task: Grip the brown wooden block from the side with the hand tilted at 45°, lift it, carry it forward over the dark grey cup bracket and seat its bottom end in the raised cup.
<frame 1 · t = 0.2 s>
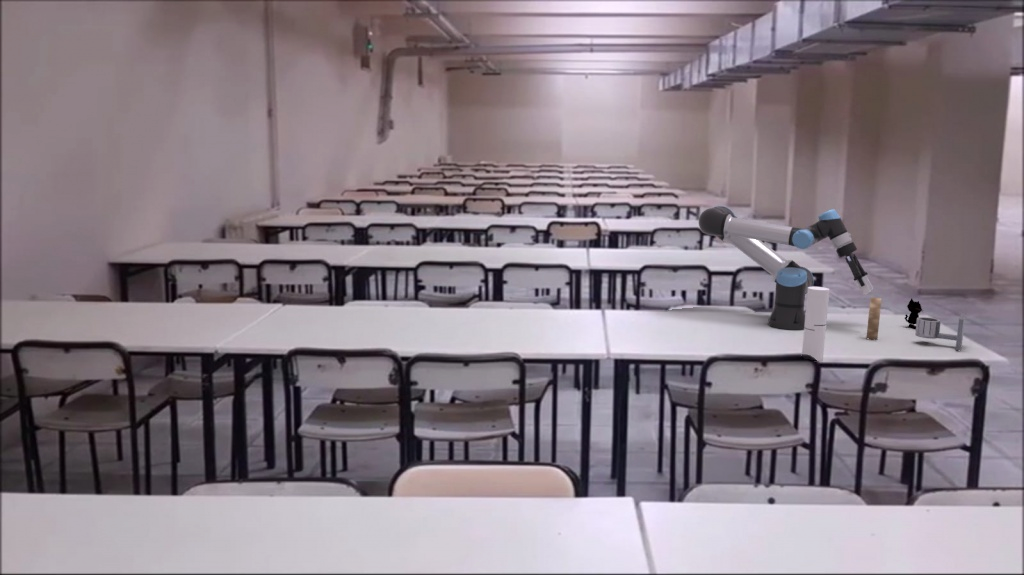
hand: (869, 292, 365), 16 cm above the table, tool tilted 35°, fingers open, 13 cm apart
cat figurine: (912, 328, 375), on the table
brown wooden block: (871, 338, 352), on the table
cup bracket: (926, 343, 346), on the table
cylindrical container: (812, 359, 318), on the table
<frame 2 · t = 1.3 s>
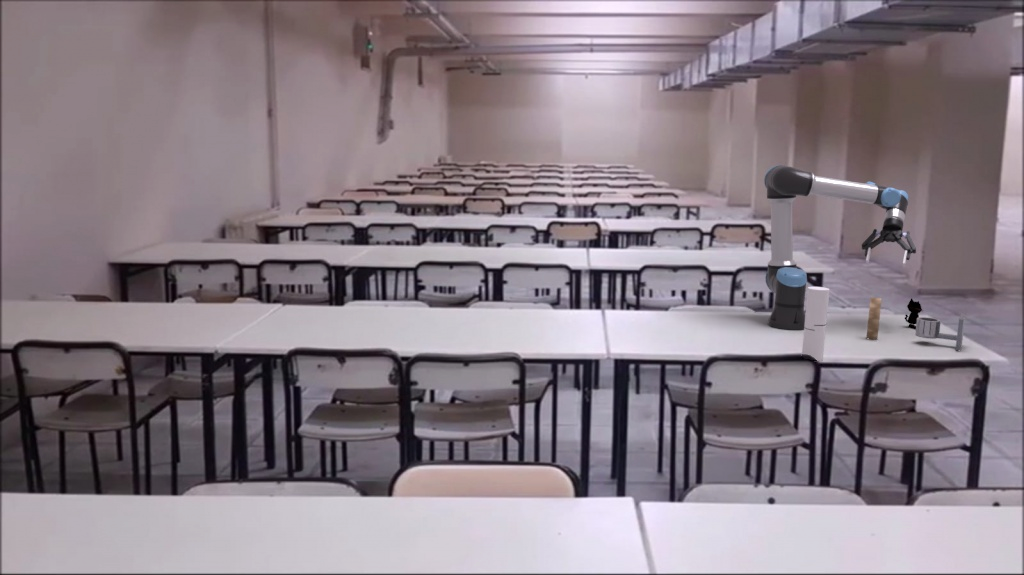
hand: (885, 263, 358), 28 cm above the table, tool tilted 45°, fingers open, 13 cm apart
nothing on the table moved.
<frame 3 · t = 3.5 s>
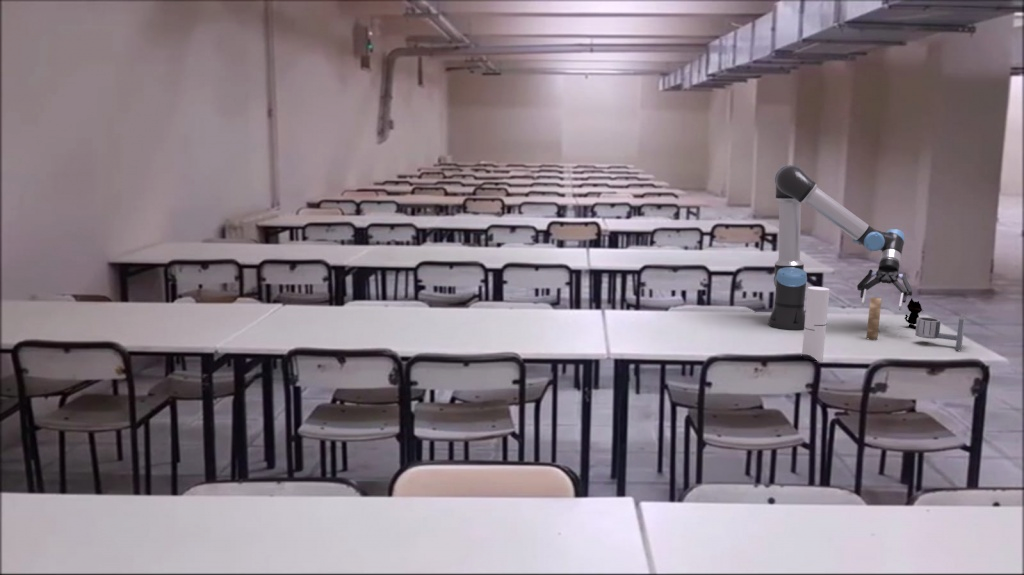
hand: (881, 306, 353), 12 cm above the table, tool tilted 45°, fingers open, 13 cm apart
nothing on the table moved.
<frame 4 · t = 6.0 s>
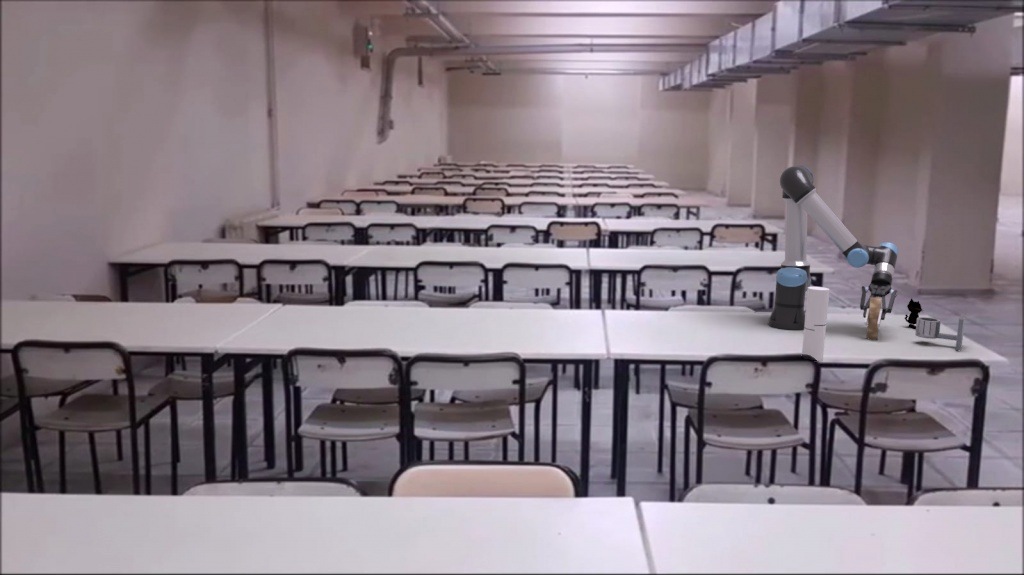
hand: (871, 324, 347), 6 cm above the table, tool tilted 45°, fingers closed on brown wooden block, 4 cm apart
brown wooden block: (871, 338, 352), on the table, touching gripper
everything else where it was.
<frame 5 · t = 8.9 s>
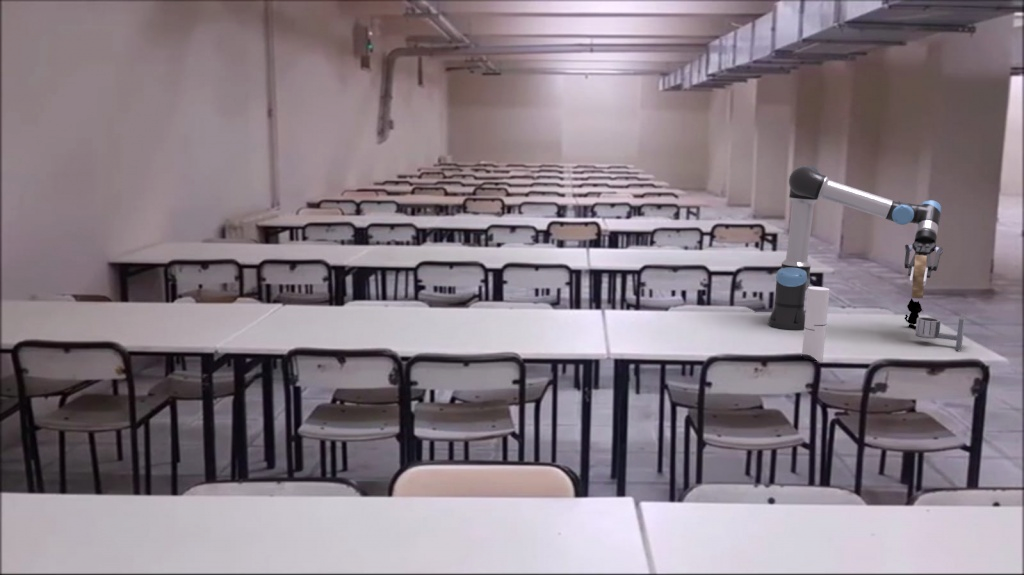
hand: (917, 282, 340), 24 cm above the table, tool tilted 45°, fingers closed on brown wooden block, 4 cm apart
brown wooden block: (917, 297, 344), point 18 cm above the table, touching gripper
everything else where it was.
when the fingers open (12 cm above the table, at t = 12.0 s): brown wooden block drops 1 cm, resting on cup bracket.
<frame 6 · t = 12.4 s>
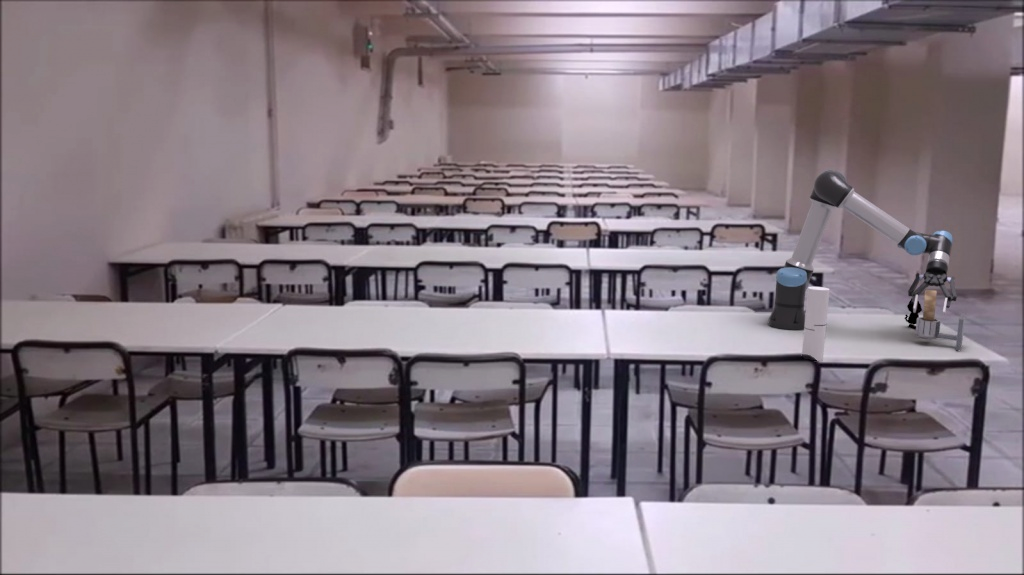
hand: (929, 312, 341), 13 cm above the table, tool tilted 45°, fingers open, 9 cm apart
brown wooden block: (927, 332, 345), point 5 cm above the table, touching cup bracket
everything else where it was.
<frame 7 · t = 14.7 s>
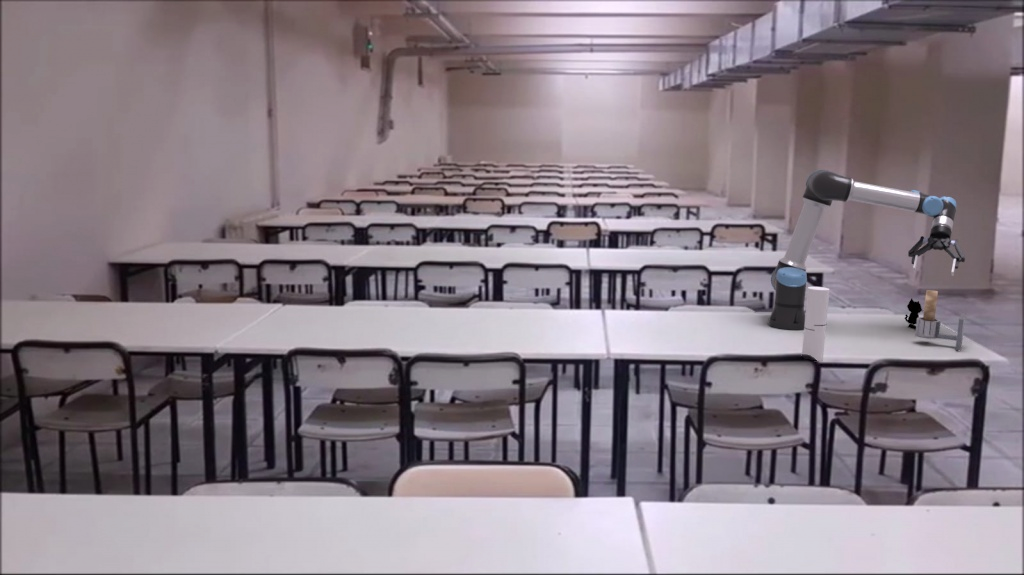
hand: (933, 272, 350), 26 cm above the table, tool tilted 45°, fingers open, 13 cm apart
nothing on the table moved.
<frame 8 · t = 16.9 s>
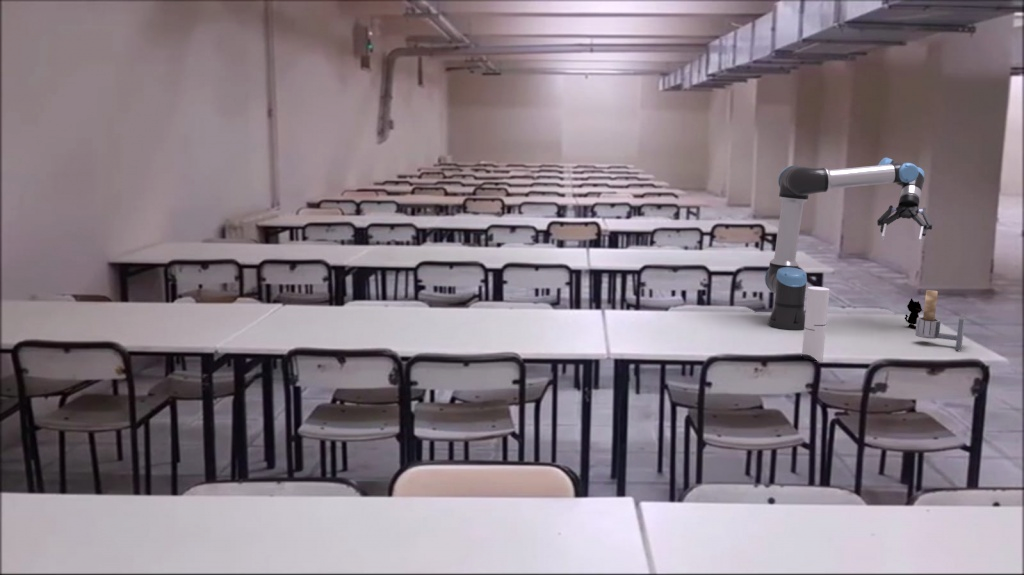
hand: (901, 239, 357), 38 cm above the table, tool tilted 45°, fingers open, 13 cm apart
nothing on the table moved.
at the end: brown wooden block 0.0 cm off-centre on the cup bracket, point 4.5 cm above the cup bracket's base; brown wooden block tilted 0°; the gripper is holding nothing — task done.
